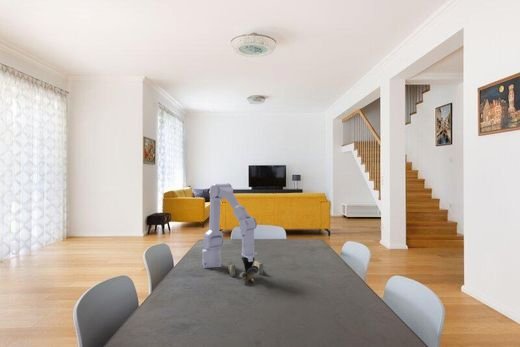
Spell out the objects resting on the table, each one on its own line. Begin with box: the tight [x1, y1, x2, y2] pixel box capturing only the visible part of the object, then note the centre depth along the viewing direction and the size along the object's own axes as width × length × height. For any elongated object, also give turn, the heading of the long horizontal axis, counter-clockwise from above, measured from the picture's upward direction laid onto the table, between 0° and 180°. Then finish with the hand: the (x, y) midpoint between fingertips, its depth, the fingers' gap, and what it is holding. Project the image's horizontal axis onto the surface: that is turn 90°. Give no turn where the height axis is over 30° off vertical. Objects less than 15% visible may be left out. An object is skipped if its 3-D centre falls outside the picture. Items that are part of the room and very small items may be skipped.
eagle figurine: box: [239, 265, 259, 285], centre depth 140 cm, size 8×7×9 cm
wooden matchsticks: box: [227, 260, 264, 278], centre depth 154 cm, size 16×14×5 cm
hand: (248, 273), depth 145 cm, fingers closed
